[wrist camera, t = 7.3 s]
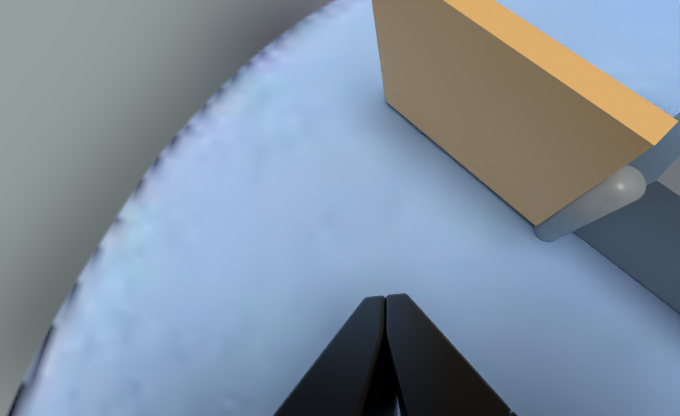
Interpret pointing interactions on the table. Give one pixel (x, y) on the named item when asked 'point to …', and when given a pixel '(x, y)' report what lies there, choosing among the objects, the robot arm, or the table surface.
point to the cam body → (647, 224)
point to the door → (517, 109)
